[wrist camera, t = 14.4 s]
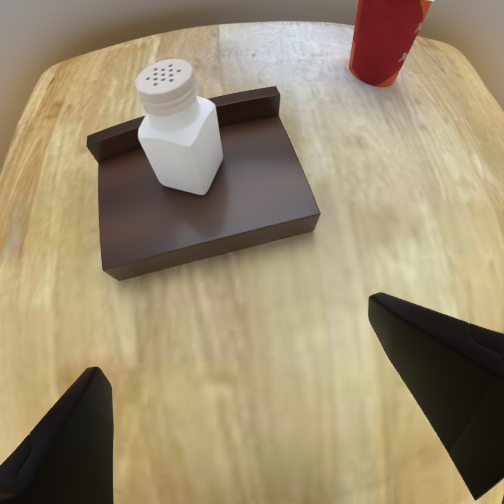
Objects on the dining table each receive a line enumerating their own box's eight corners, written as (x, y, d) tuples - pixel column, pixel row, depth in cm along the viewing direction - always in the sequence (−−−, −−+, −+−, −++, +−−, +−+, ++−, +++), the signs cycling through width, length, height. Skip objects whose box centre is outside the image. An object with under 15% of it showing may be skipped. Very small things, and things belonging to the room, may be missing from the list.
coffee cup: (413, 94, 30) (455, -3, 16) (355, 93, 30) (387, -22, 16) (384, 55, 33) (410, -33, 19) (329, 52, 33) (347, -47, 18)
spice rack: (314, 230, 24) (328, 196, 19) (118, 281, 23) (85, 259, 18) (273, 128, 28) (275, 85, 23) (110, 171, 27) (87, 135, 21)
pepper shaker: (206, 200, 22) (179, 102, 13) (158, 187, 22) (113, 96, 13) (226, 157, 23) (212, 56, 14) (180, 147, 24) (150, 53, 15)
